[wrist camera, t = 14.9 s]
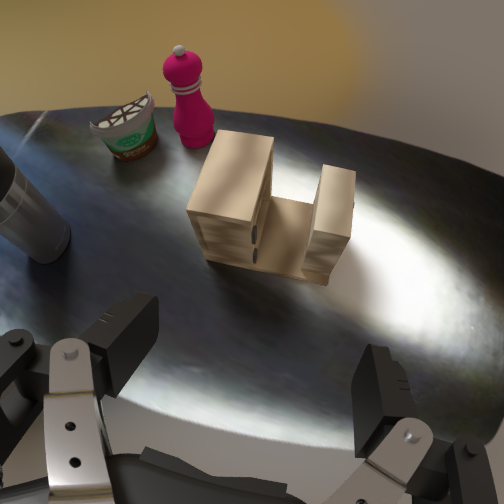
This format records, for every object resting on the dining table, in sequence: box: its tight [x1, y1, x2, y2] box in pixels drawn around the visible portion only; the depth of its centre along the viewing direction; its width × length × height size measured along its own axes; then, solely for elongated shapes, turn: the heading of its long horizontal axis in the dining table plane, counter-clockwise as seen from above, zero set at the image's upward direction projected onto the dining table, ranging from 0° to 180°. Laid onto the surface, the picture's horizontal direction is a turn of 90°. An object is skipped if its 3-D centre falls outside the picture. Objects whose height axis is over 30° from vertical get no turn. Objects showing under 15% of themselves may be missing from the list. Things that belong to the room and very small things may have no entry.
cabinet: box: [186, 130, 329, 285], centre depth 41 cm, size 18×12×14 cm
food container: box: [90, 91, 157, 162], centre depth 51 cm, size 12×6×10 cm, turn 125°
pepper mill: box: [163, 45, 214, 148], centre depth 47 cm, size 7×7×20 cm
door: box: [301, 164, 356, 276], centre depth 40 cm, size 5×9×12 cm, turn 167°
